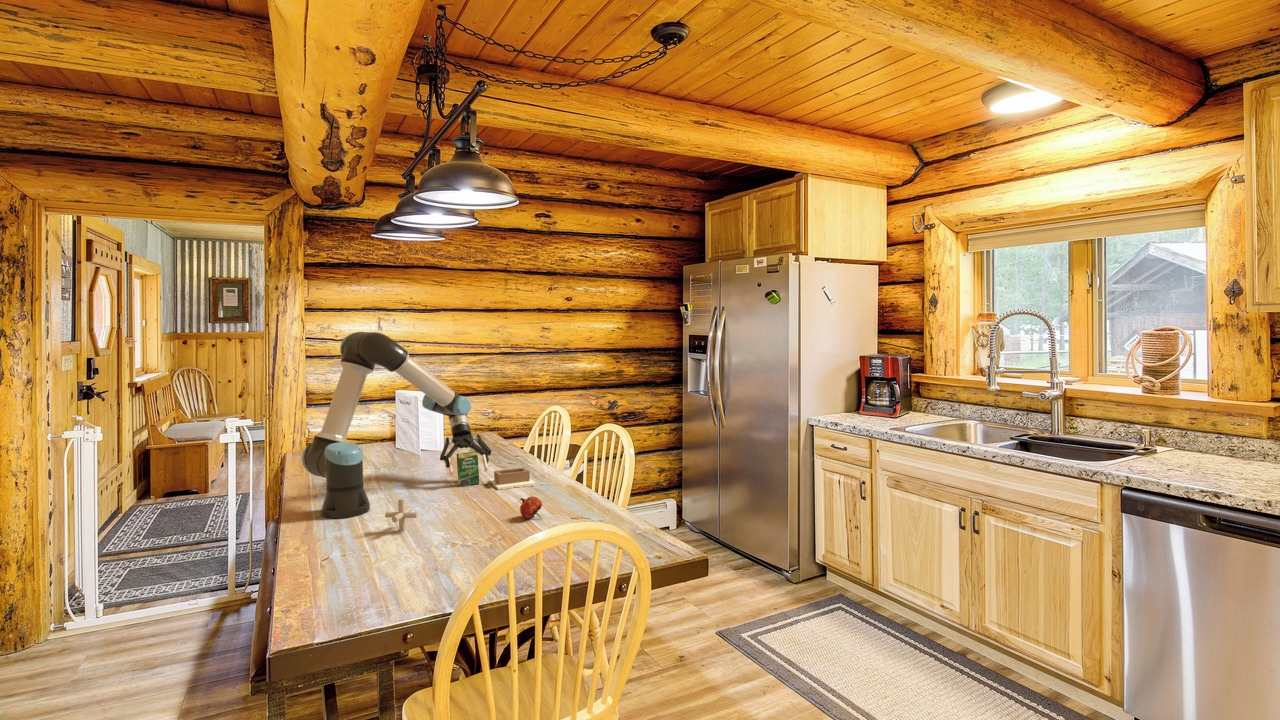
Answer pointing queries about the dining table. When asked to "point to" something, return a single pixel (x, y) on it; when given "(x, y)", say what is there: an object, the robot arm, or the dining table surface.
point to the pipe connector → (401, 514)
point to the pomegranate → (530, 507)
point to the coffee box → (467, 468)
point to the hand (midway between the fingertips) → (469, 471)
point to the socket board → (512, 478)
